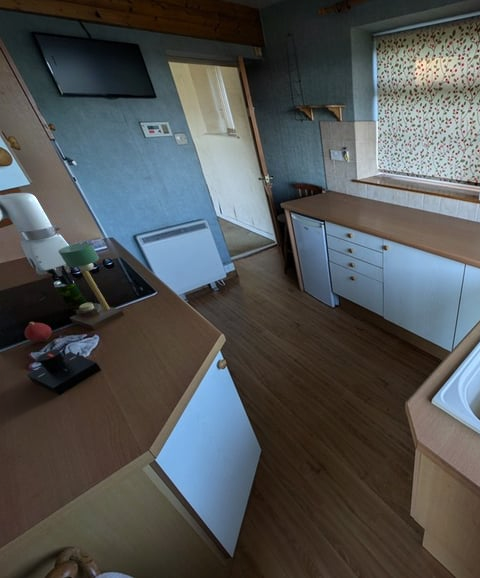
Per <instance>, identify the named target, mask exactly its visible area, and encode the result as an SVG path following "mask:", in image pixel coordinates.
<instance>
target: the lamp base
mask: <svg viewBox="0 0 480 578" xmlns="http://www.w3.org/2000/svg"><path fill="white" fill-rule="evenodd" d="M92 304H93V305H94V308H93V309H91V310H88V311H82V310H81V309H80V308H79V309H77V310H76V311H75V313H76V314H74V315H72V316H70V317H69V320H70V321H71V322H72V323H73V322H75V323H74V324H76V323H77V324H76V325H78V324H79V326H82V327H84V328H86V329H89V330H92V331H96V330H98V329H100V328H102V327H103V326H106V325H108V324H109V323H111V322H113V321H116V320H117V319H120V318H121V317H123V316H125V313H124V312H123V310H122V309H119V308H116V307H112V306H109V308H110V309H109V310H107V311H105V310H104V309H103V307H102V305H101V304H100V303H97V302H95V303H93V302H92Z"/></svg>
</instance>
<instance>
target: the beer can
mask: <svg viewBox="0 0 480 578" xmlns="http://www.w3.org/2000/svg"><path fill="white" fill-rule="evenodd" d="M73 282H74V284H70V285H69V286H68V285H65V284H62V283H61V282H60V281H59V279H58V280H56V281H54V282H53V285H54V286H53V287H54V288H55V289H56V291H57V293H58V294H59V296H60V297H61V298H62V300H63V302H64V303H65V305H66V306H67V307H68V309H69V310H70V311H73V312H76V310H77V309H79V308H80V306H81V305H82V304H85V303H88V301H87V299H86V298H85V297H84V295H83V293H82V292H81V290H80V289H79V287H78V286H77V284H76V282H75V280H73Z"/></svg>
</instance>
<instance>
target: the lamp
mask: <svg viewBox="0 0 480 578" xmlns="http://www.w3.org/2000/svg"><path fill="white" fill-rule="evenodd" d="M58 252H59V253H60V255H61V257H62V258H63V260H64V262H65V263H66V265H67V266H68V267H72V268H78V269H79V271H80V272H81V274H82V275H83V278H84V279H85V281H86V282H87V284H88V285H89V287H90V289H91V290H92V292H93V294H94V295H95V297H96V298H97V300H98V302H99V304H101V305H102V307H103V309H104V310H105V311H107V310H109V309H110V308H109V307H110V306H109V304H108V303H107V301H106V299H105V297H104V296H103V294H102V293H101V291H100V289H99V288H98V285H97V284H96V282H95V281H94V278H93V277H92V276H91V274H90V271H92V270H93V269H94V263H96V262H98V261H99V259H100V257H99V255H98V254H97V252H96V250H95V248H94V246H93V244H92V243H89V242H82V243H75V244H71V245H69V246H67V247H64V248H62V249H60V250H59V251H58Z"/></svg>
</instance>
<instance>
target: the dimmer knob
mask: <svg viewBox="0 0 480 578" xmlns="http://www.w3.org/2000/svg"><path fill="white" fill-rule="evenodd" d="M63 355H64V354H63V353H62V352H61V350H59V349H51V350H49V351H46V352H44V353H42V354H40V355H39V356H38V357H37V361H38V362H39V363H40V364H41V365H42V366H44V368H45V369H46V370H47V371H48V372H55V371H58V370H61V369H62V368H64V367H66V366H67V365H68V361H67V360H66V359H65V357H64V356H63Z"/></svg>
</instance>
